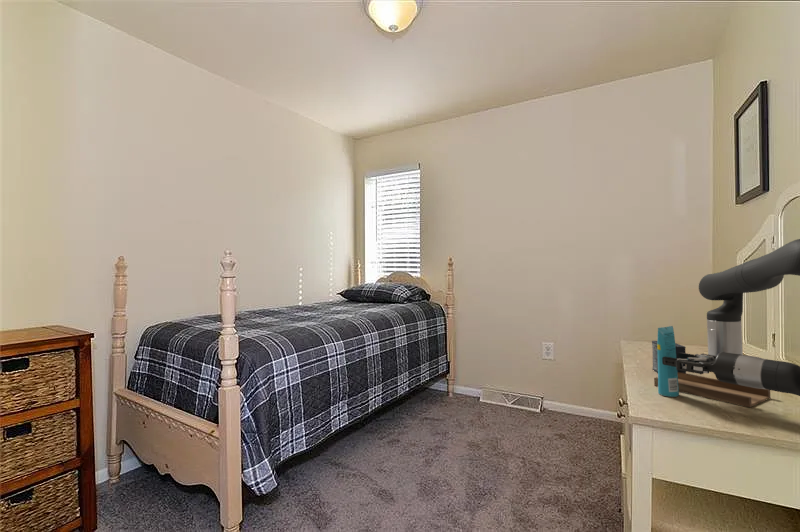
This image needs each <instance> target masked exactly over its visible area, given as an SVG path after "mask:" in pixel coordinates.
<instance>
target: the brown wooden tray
mask: <svg viewBox="0 0 800 532" xmlns="http://www.w3.org/2000/svg"><path fill="white" fill-rule="evenodd" d="M677 373H678V387H679V393H685V394H689V395H693V396H698V397H701V396H702V397H703V398H706V399H711V400H714V401H715V400H716V401H719V402H723V401H724V402H723V403H728V402H729V403H728V404H732V403H733V405H738V406H741V405H742V407H745V406H746V408H751V407H753V406H756V405H759V404H761V403H763V402H765V400H766V399H768V400H770V399H771V398H772V397H771V390H767V389H759V388H751V387H746V386H741V385H736V384H730V383H725V382H721V381H719V380H718V379H717V378H713V377H705V376H701V375H695V374H691V373H687V372H686V373H681V372H677ZM653 383H654V387H657V388H658V376H656V377H654V381H653ZM702 397H701V398H702ZM769 398H770V399H769ZM766 401H767V400H766ZM760 402H761V403H760ZM758 403H759V404H758Z"/></svg>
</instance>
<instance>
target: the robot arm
mask: <svg viewBox="0 0 800 532" xmlns="http://www.w3.org/2000/svg"><path fill="white" fill-rule="evenodd" d="M788 275H792V276H793V275H794V276H800V238H797V239H794V240H792V241H789V242H788V243H786V244H784V245H782V246H780V247H778V248H777V249H774V250H773V251H771V252H769V253H767V254H764V255H762V256H758V257H757V258H752V259H750V260H748V261H745V262H743V263H740V264H738V265H735V266H733V267H730V268H728V269H725V270H723V271H720V272H716V273H715V272H714V273H710V274H706V275H704V276H702V278H701V279H700V281H699V283H698V291H699V293H700V296H702V297H703V298H704V299H706V300H709V301H723V303H722V304H721V305H720V306H719V307H717V308H713V309H711V310H708V311H706V312H707V313H706V329H707V330H706V331H707V332H706V333H707V354H706V353H700V354H699V353H696V354H695V353H694V354H692V353H679V354H678V355H679V359H677V358H671V357H662V363H663V365H668V366H673V367H676V370H681V371H686V373H687V372H688V373H692V374H699V375H704V374H710V373H713V374H714V376H715V379H718V380H719V381H721V382H725V383H730V384H736V385H741V386H746V387H751V388H759V389H767V390H770V391H773V392H779V393H785V394H790V395H791V394H792V395H795V396H797V397H800V365H798V364H797V363H793V362H788V361H782V360H774V359H768V358H762V357H759V356H754V355H747V354H743V353H744V352H743V330H742V315H743V312H744V311H743V310H744V308H743V307H744V306H743V305H744V294H747V293H757V292H763V291H765V290H766V291H767V290H770V289H773V288H775V287H777V286H778V285H780V284H781V283H782V282H783V279H784V276H788ZM683 363H684V364H686V366H683Z"/></svg>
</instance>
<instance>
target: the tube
mask: <svg viewBox="0 0 800 532" xmlns="http://www.w3.org/2000/svg"><path fill="white" fill-rule="evenodd" d="M656 341H657V349H658V373H657V378H658V387H657V389H658V391H657V393H658V394H659V395H660V396H662V397H668V398H671V397H673V398H674V397H675V398H676V397H680V392H679V387H678V373H677V370H676V367H673V366H668V365H663V363H662V357H671V358H676V347H675V343H676V338H675V331H674V326H673V325H669V326H663V327H662V326H661V327H657V340H656Z"/></svg>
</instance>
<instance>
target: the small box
mask: <svg viewBox="0 0 800 532" xmlns="http://www.w3.org/2000/svg"><path fill="white" fill-rule="evenodd" d="M651 346H652V347H651V348H652V371H653V370H654V372H655V373H657V374H658V349H657V340H652V341H651ZM675 347H676V358H677V359H679V355H678V354H679V353H686V346H685V345H682V344H679V343H676V342H675ZM683 366H686V364H684V363H683ZM677 372H681V373H686V374H687V372H686V371H681V370H677Z"/></svg>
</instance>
